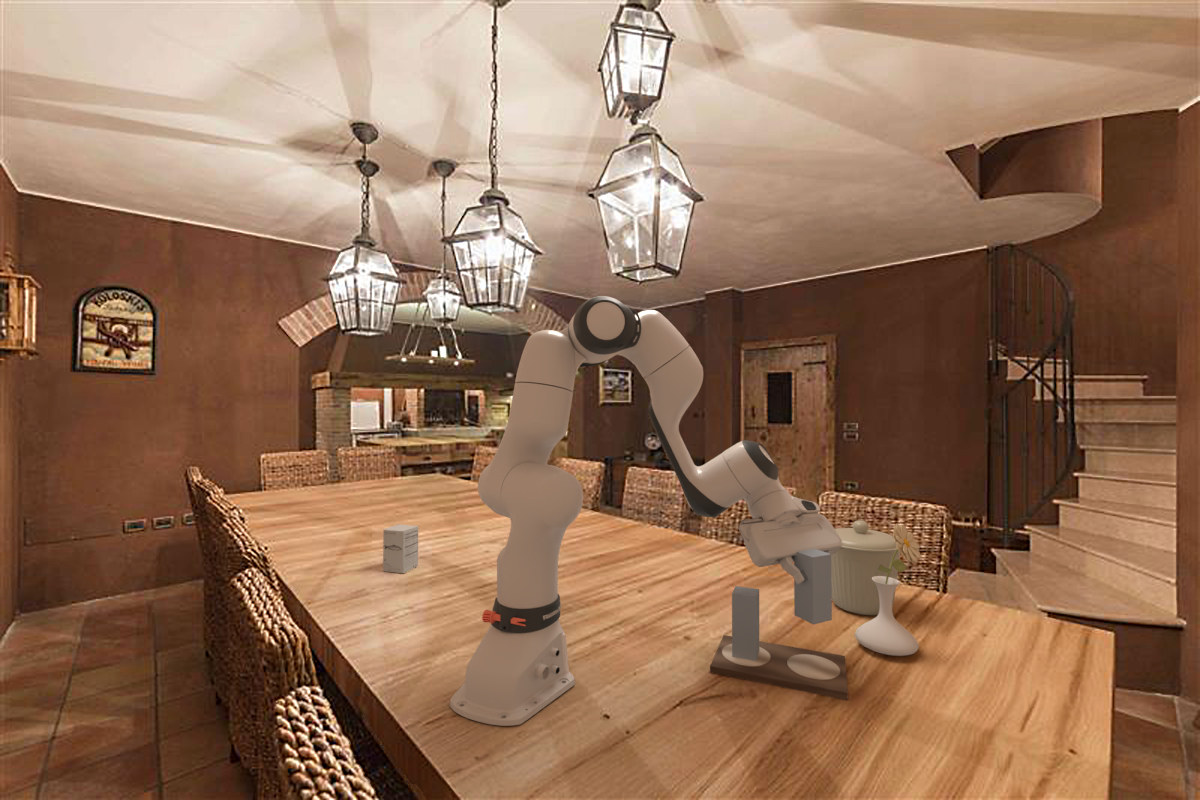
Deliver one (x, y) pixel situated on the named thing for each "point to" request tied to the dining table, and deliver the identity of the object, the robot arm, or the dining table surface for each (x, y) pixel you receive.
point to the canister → (861, 568)
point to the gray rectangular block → (813, 586)
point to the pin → (745, 623)
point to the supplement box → (400, 548)
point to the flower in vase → (890, 605)
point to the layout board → (786, 668)
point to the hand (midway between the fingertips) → (815, 579)
